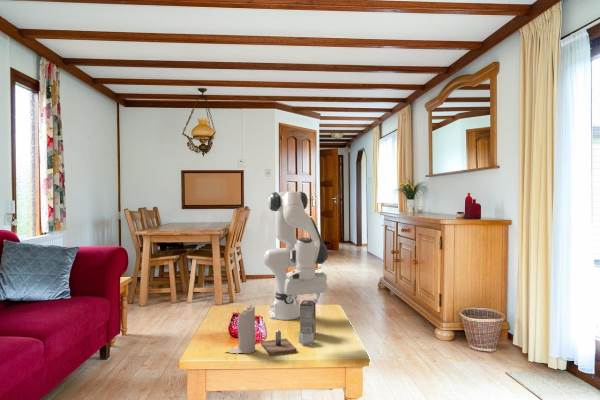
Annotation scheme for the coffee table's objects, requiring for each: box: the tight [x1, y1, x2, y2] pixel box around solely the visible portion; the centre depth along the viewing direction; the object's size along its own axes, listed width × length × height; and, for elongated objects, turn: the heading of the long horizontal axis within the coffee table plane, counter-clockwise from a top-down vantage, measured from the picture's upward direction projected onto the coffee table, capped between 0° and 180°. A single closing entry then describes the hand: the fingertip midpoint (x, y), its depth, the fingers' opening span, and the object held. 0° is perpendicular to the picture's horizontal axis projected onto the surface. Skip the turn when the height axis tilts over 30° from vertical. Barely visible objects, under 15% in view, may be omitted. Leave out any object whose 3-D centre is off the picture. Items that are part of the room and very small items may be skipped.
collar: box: [298, 330, 315, 347], centre depth 194 cm, size 5×5×5 cm
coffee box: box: [299, 299, 317, 336], centre depth 206 cm, size 9×6×16 cm
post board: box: [260, 338, 298, 357], centre depth 188 cm, size 15×12×2 cm
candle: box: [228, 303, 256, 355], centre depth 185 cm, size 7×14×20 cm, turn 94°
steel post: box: [275, 329, 282, 346], centre depth 188 cm, size 2×2×6 cm
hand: (306, 303), depth 194 cm, fingers open, 8 cm apart
